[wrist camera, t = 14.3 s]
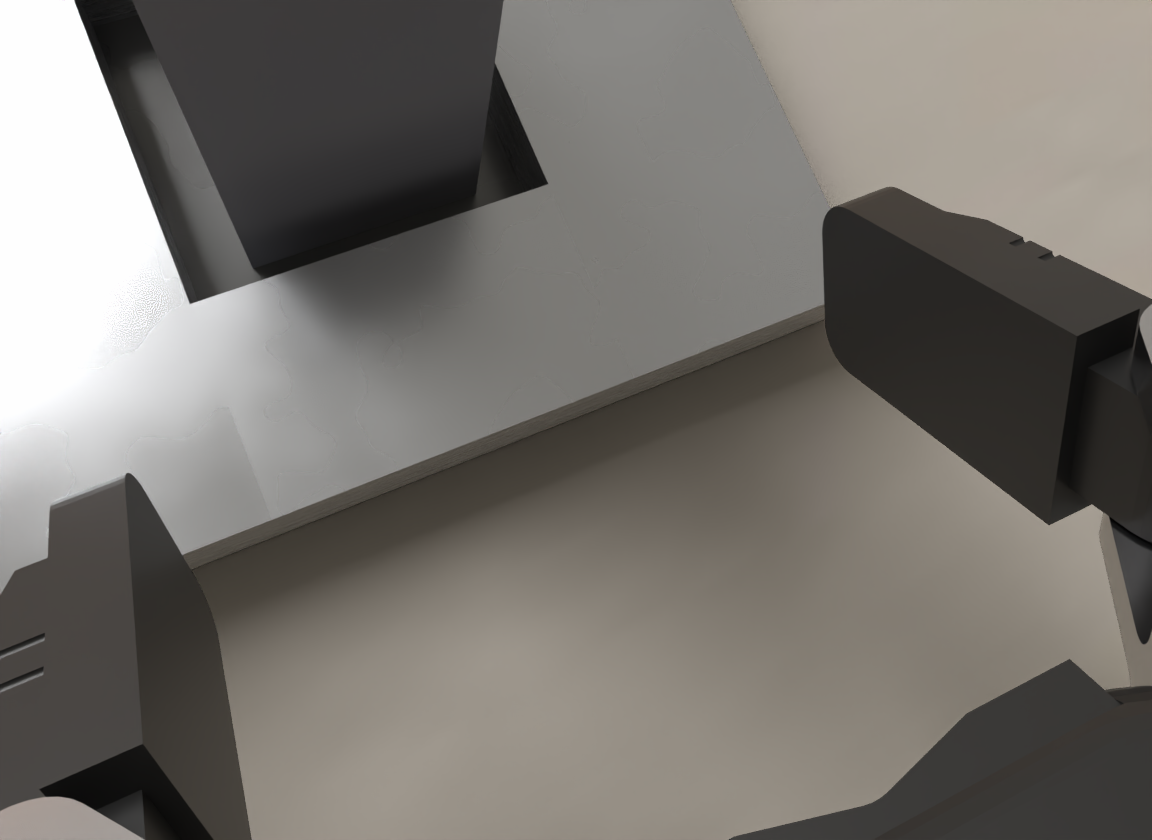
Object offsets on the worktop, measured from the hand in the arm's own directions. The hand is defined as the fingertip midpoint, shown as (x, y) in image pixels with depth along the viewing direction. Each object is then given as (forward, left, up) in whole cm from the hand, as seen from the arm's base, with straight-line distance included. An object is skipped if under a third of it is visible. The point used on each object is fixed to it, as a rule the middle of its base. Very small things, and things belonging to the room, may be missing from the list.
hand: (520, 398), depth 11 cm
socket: (+2, +7, -8) cm, 11 cm away
